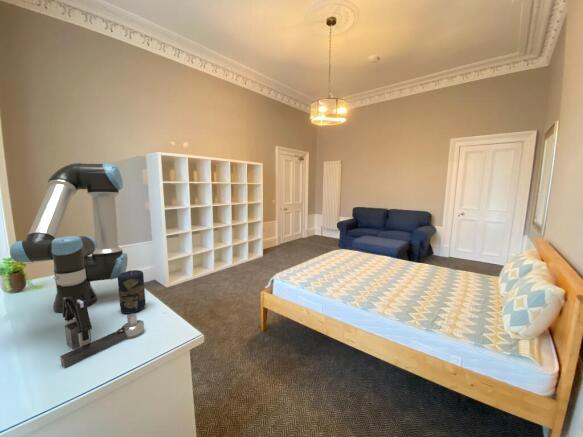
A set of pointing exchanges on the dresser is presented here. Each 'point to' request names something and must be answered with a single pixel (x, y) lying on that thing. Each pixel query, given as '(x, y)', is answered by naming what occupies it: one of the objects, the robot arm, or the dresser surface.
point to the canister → (131, 291)
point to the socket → (73, 335)
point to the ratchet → (105, 341)
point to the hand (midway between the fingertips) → (79, 342)
